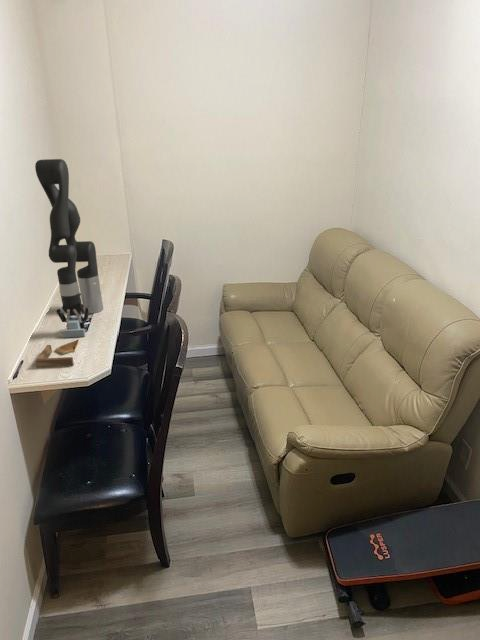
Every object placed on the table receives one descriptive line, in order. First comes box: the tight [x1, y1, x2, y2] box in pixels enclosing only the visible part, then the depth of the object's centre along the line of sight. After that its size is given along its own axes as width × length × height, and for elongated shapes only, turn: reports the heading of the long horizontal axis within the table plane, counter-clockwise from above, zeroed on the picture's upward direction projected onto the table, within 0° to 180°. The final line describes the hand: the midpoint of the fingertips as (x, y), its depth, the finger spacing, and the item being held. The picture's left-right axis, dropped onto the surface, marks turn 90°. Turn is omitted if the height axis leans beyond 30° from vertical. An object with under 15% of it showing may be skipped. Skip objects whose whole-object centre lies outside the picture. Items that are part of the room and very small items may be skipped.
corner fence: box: [35, 344, 75, 369], centre depth 178 cm, size 13×13×3 cm
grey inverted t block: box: [61, 315, 86, 338], centre depth 199 cm, size 10×9×6 cm
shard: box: [55, 339, 80, 355], centre depth 187 cm, size 11×8×2 cm
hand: (76, 329), depth 201 cm, fingers closed on grey inverted t block, 4 cm apart
